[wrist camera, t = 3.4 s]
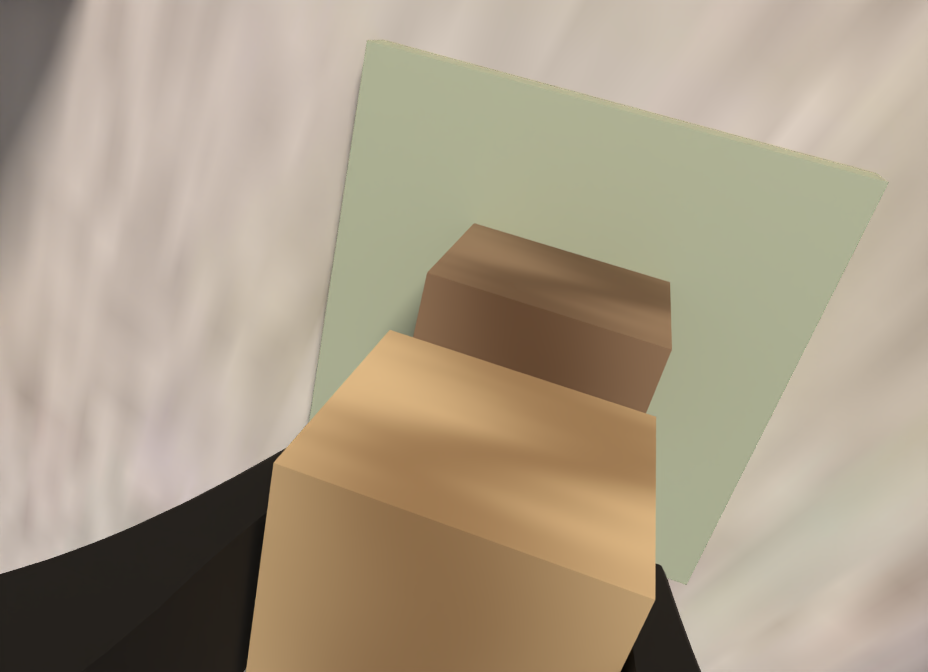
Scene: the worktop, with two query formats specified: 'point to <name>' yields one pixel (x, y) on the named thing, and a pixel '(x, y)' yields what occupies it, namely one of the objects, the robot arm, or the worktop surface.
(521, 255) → the walnut block
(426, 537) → the oak block
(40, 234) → the worktop surface
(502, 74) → the build board
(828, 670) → the worktop surface
